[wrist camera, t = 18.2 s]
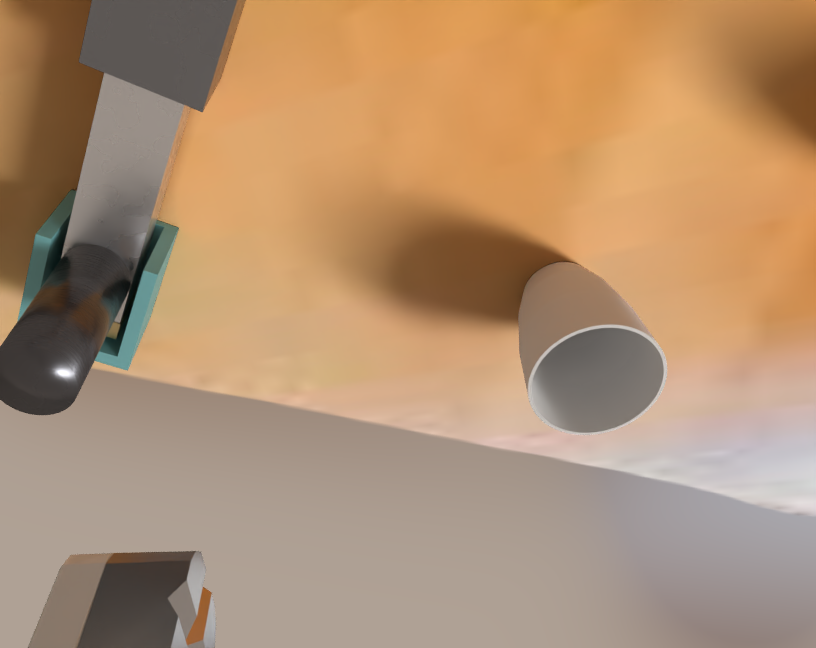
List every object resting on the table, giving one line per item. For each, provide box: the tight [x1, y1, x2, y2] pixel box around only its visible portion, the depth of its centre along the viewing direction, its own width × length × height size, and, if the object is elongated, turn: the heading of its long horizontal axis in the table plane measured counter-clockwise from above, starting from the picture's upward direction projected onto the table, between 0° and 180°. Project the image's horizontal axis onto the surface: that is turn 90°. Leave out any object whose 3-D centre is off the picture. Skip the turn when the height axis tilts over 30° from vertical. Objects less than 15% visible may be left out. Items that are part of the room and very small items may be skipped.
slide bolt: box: [0, 73, 191, 415], centre depth 38 cm, size 17×4×14 cm, turn 155°
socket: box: [18, 190, 179, 370], centre depth 45 cm, size 7×7×6 cm
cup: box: [518, 262, 667, 435], centre depth 47 cm, size 8×8×10 cm
